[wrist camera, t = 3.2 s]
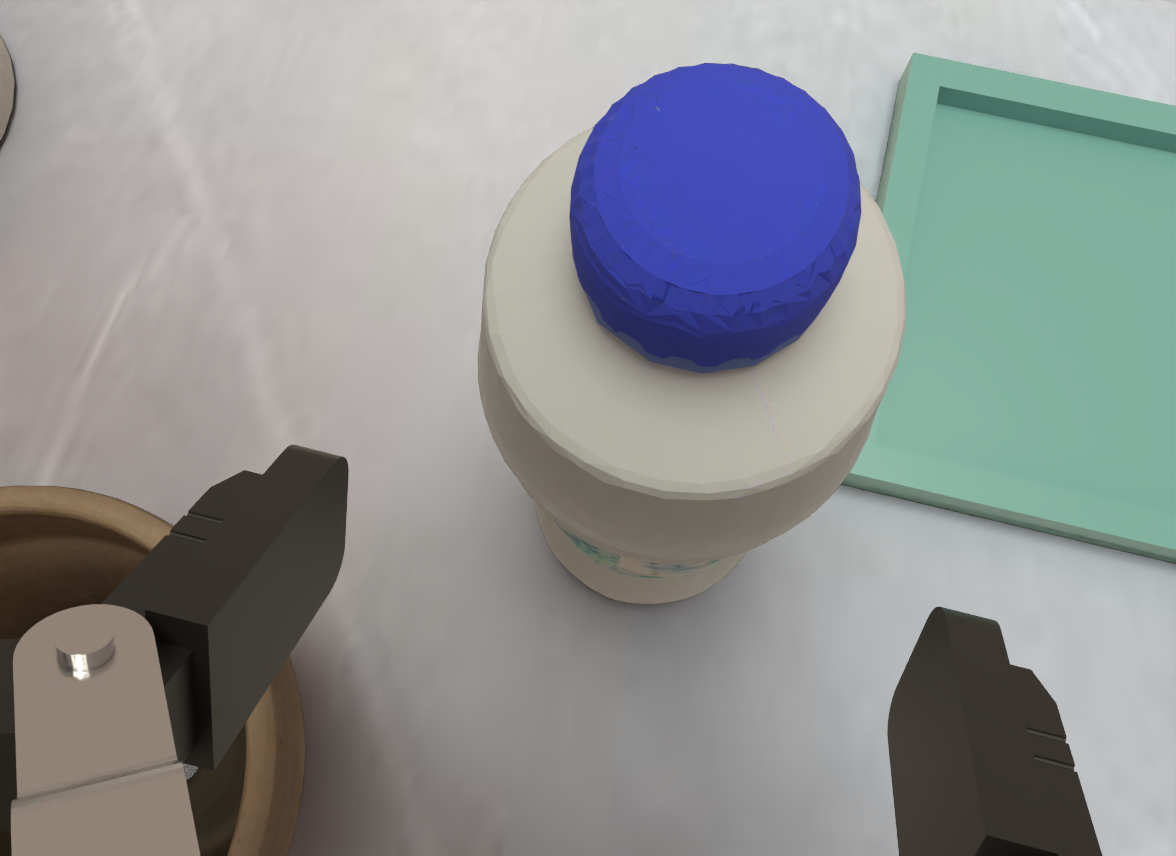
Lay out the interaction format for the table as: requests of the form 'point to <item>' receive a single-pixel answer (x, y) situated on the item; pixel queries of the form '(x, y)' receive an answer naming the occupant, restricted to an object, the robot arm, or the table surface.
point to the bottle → (688, 329)
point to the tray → (1032, 307)
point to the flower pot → (88, 576)
